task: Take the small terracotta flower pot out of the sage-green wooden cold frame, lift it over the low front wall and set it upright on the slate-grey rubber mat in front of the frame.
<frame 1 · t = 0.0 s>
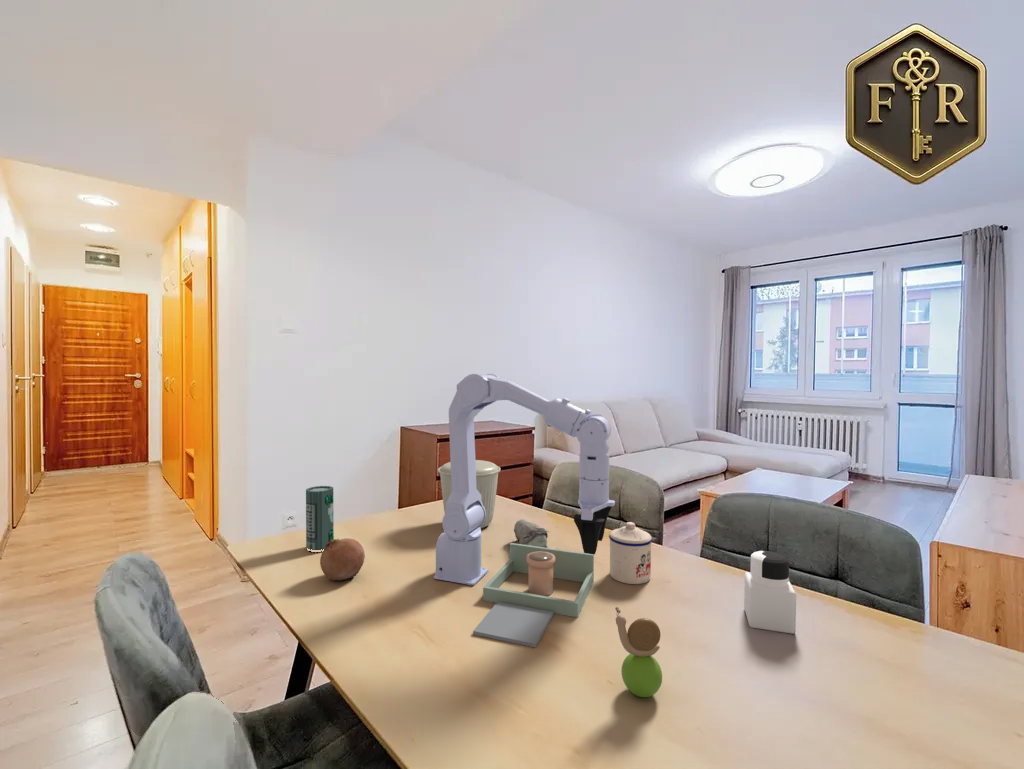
hand: (593, 546, 94), 10 cm above the table, tool pointing down, fingers open, 7 cm apart
teacup with lid: (632, 574, 105), on the table
medicine bottle: (768, 622, 85), on the table
cold frame: (540, 590, 97), on the table
can: (320, 549, 120), on the table
decorative bird: (531, 552, 118), on the table
brown kiwi fruit: (343, 578, 103), on the table
canister: (469, 525, 139), on the table
snail figurine: (637, 694, 66), on the table
terracotta pot: (540, 591, 97), resting in cold frame
slate mat: (514, 624, 84), on the table
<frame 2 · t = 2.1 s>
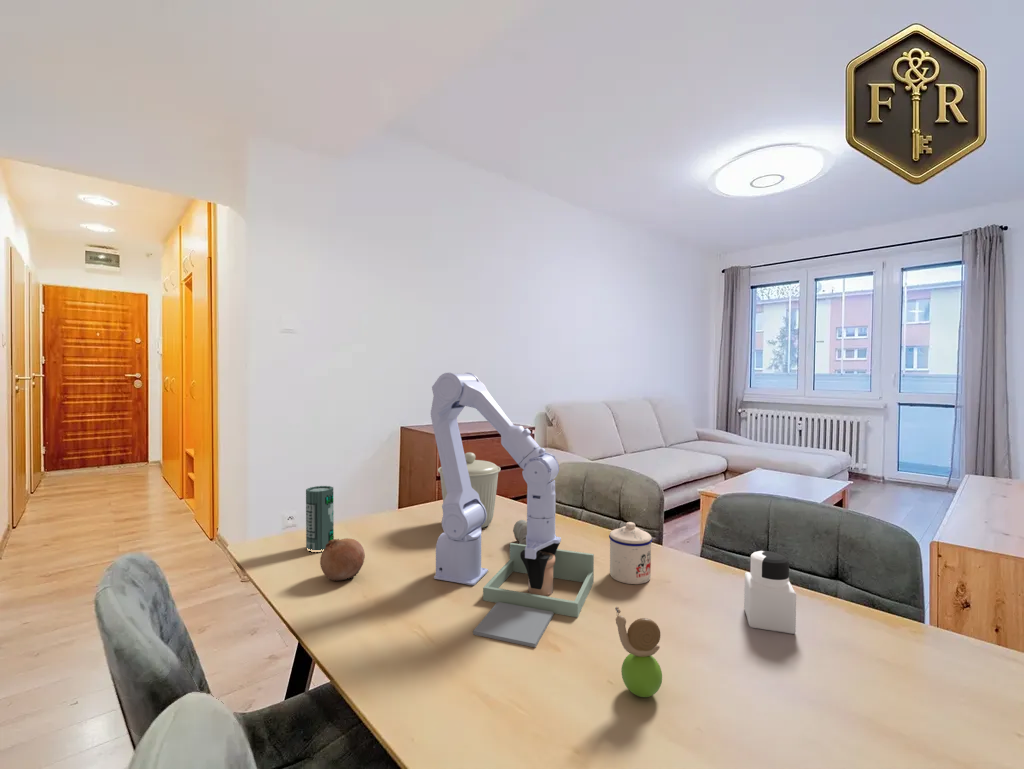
hand: (540, 581, 97), 2 cm above the table, tool pointing down, fingers closed on terracotta pot, 6 cm apart
terracotta pot: (540, 590, 97), resting in cold frame, touching gripper
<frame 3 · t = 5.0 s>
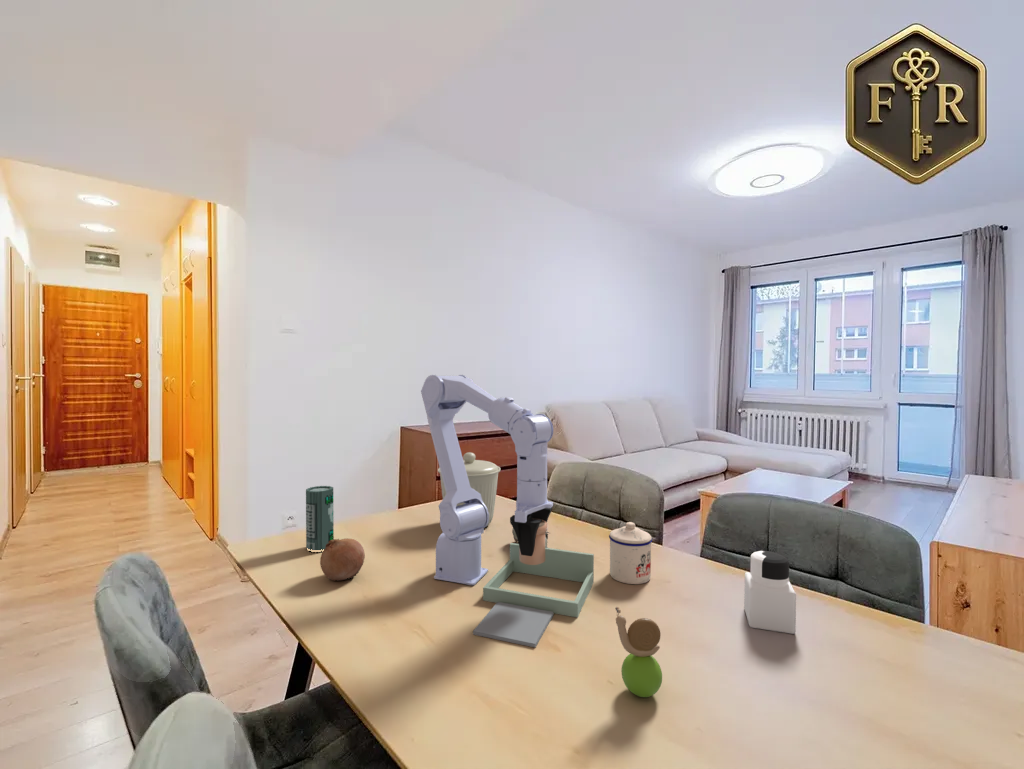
hand: (531, 549, 91), 10 cm above the table, tool pointing down, fingers closed on terracotta pot, 6 cm apart
terracotta pot: (532, 559, 92), point 8 cm above the table, touching gripper
when the fingers open (4 cm above the table, at t = 7.9 s): terracotta pot drops 1 cm, resting on slate mat.
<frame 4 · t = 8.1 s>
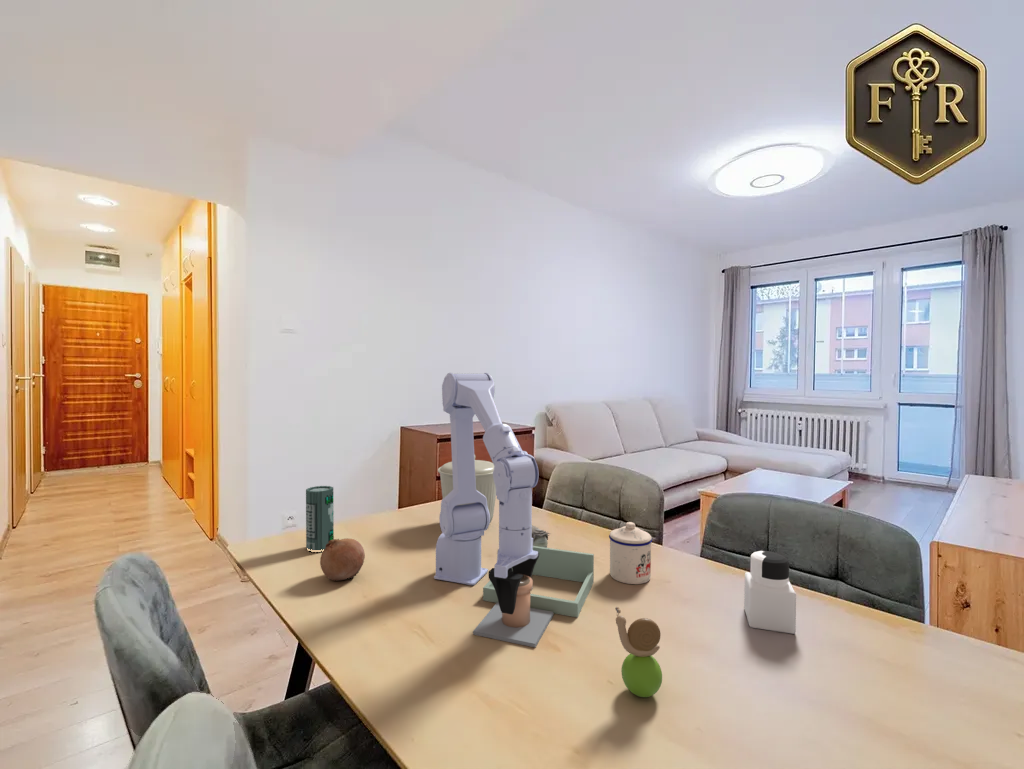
hand: (515, 602, 84), 4 cm above the table, tool pointing down, fingers open, 7 cm apart
terracotta pot: (516, 620, 84), point 1 cm above the table, touching slate mat
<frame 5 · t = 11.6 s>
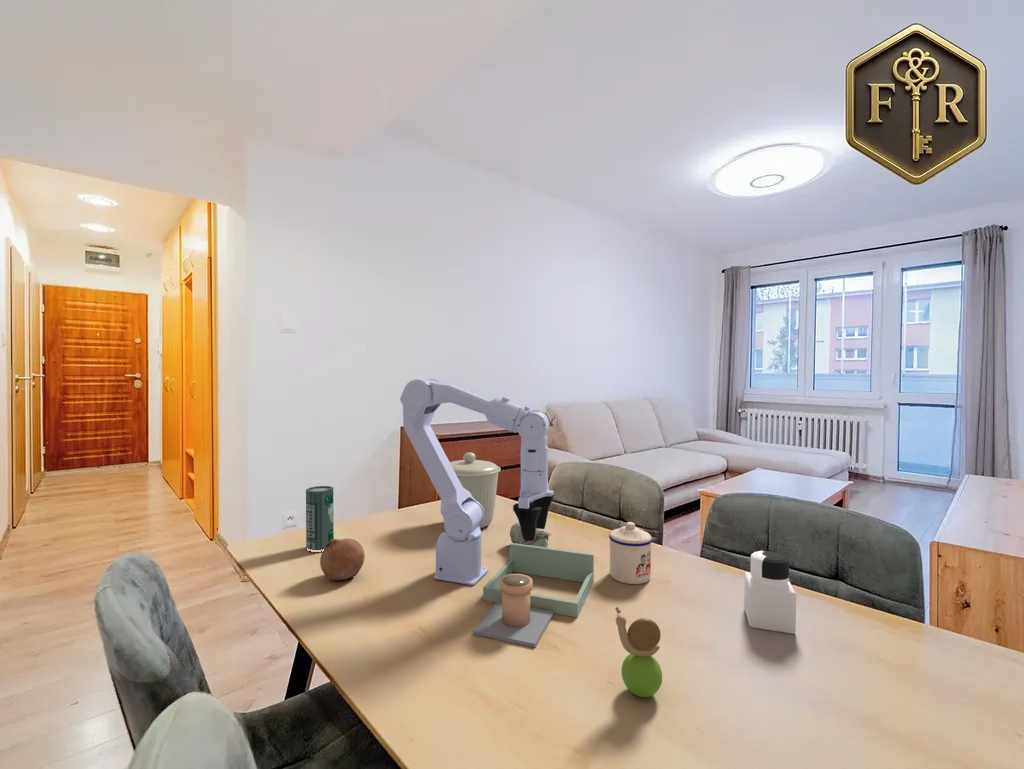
hand: (534, 533, 100), 10 cm above the table, tool pointing down, fingers open, 7 cm apart
at the end: terracotta pot inside the target area on the slate mat (0.4 cm from its centre), point 0.6 cm above the slate mat's base; terracotta pot tilted 0°; the gripper is holding nothing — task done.
